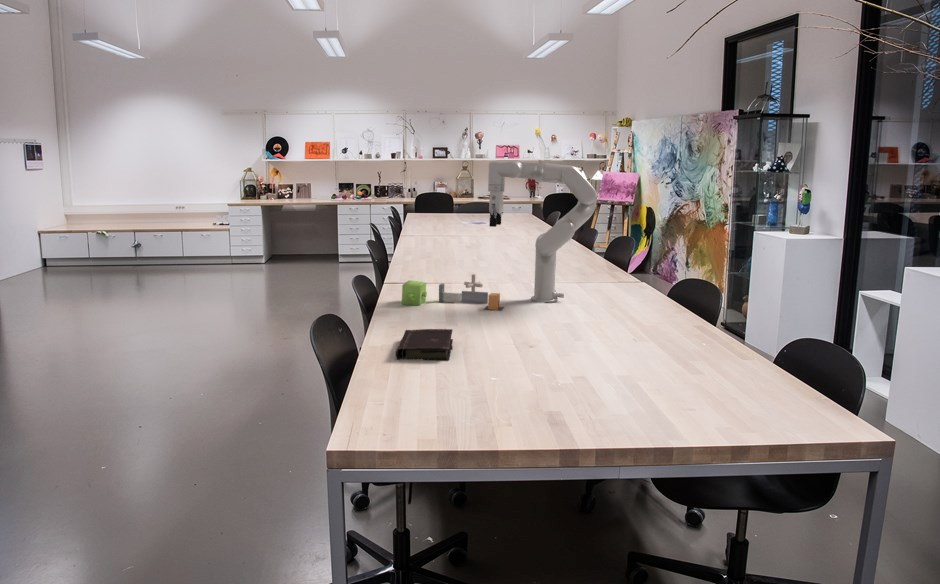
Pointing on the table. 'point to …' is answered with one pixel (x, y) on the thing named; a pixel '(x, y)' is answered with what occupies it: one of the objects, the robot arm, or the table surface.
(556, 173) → the robot arm
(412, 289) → the green square teapot
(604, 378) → the table surface
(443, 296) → the rail
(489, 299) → the clip
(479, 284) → the pipe connector
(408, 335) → the diary
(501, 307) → the pad
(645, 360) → the table surface
